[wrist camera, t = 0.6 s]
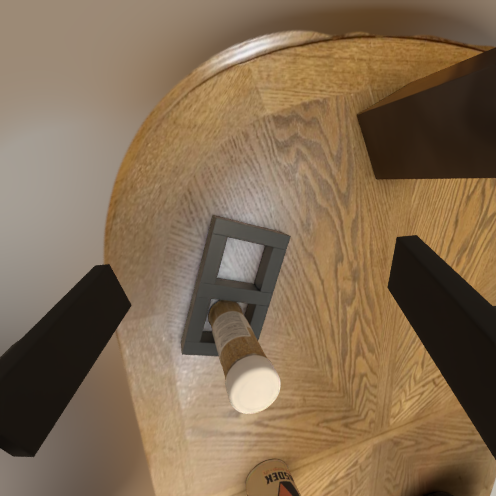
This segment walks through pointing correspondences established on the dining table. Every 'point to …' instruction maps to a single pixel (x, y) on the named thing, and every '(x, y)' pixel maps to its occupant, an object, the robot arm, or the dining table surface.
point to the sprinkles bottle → (242, 360)
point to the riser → (437, 125)
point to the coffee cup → (271, 480)
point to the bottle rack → (232, 282)
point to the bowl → (440, 494)
